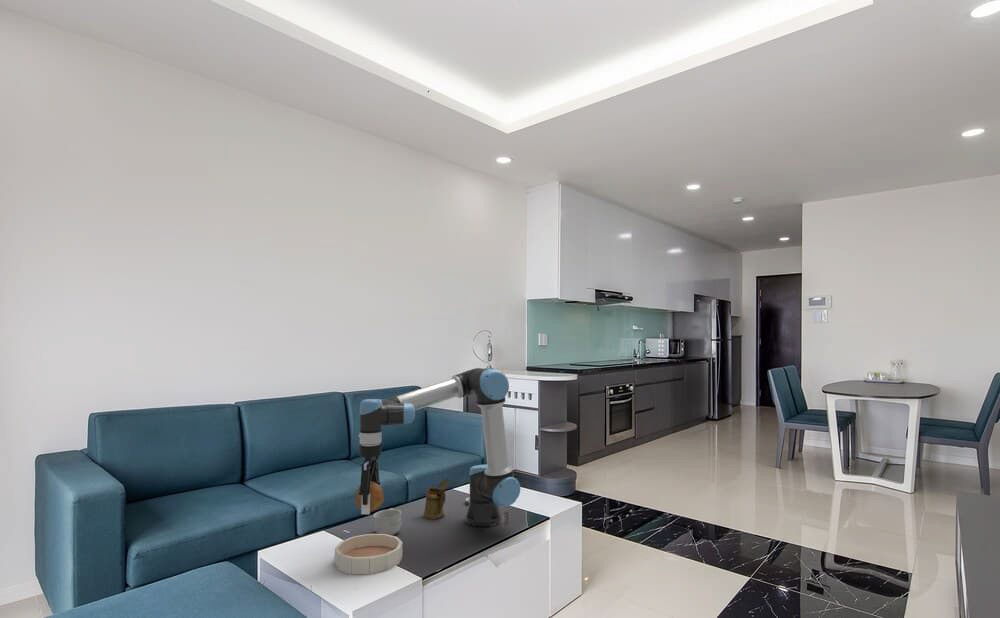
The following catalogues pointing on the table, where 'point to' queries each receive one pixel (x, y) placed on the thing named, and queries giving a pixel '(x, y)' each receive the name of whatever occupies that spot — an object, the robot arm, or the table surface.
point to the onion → (372, 496)
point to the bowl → (368, 553)
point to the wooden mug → (436, 501)
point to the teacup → (387, 521)
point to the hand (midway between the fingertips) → (369, 509)
